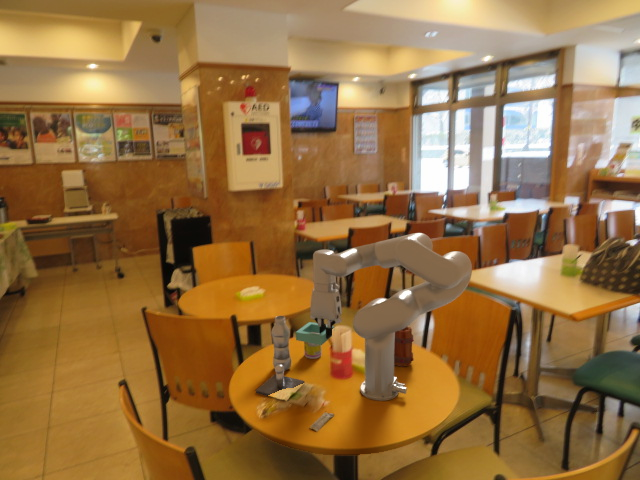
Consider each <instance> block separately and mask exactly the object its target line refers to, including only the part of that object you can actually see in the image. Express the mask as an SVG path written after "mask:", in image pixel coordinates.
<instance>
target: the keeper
mask: <svg viewBox="0 0 640 480" xmlns="http://www.w3.org/2000/svg"><path fill="white" fill-rule="evenodd" d="M274 371H275V373H274V374H273V375H272V376H271V377H270V378H268V379H267V380H266V381H265V382H264V383H263V384H262V385H260V386H259V387H258V388H257V389H256V390H255V394H257V395H261V396H265V397H268V395H270V394H272V393H275V392H277V391H279V390H282V389H286V388H294V387H296V386H298V385H300V384H303V383H305V380H302V379H299V378H294V377H289V376H285V374H284V373H285V370H284V366H283V365H281V364H279V365H277V366H276V367H274Z"/></svg>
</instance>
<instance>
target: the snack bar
mask: <svg viewBox="0 0 640 480" xmlns="http://www.w3.org/2000/svg"><path fill="white" fill-rule="evenodd" d="M334 416H335V413H331V412H330V413H329V412H327V410H326V411H325V412H323V414H322V415H321V416H320V417H318V419H317V420H315V422H314V423H312V424H310V426H309V427H308V428H309V429H311V430H312V431H314V432H317V433H318V432H319V431H320V430H321V429H322V427H323V426H325V425H326V424H327V422H328V421H329V420H331V418H332V417H334Z"/></svg>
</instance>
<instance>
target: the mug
mask: <svg viewBox="0 0 640 480" xmlns="http://www.w3.org/2000/svg"><path fill="white" fill-rule="evenodd" d="M412 330H413V329H412V328H411V326H408V327H406V328H404V329H402V330H399V331H397V332H395V348H394V366H397V367H408V366H411V364H412V363H413V361H414V360H415V359H414V352H413V342H414V335H413V334H412Z"/></svg>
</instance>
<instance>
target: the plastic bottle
mask: <svg viewBox="0 0 640 480" xmlns="http://www.w3.org/2000/svg"><path fill="white" fill-rule="evenodd" d="M286 322H287V321H286V317H285V316H284V315H277V316H275V317H274V326H273V327H272V328H271V337H272V342H273V359H272V364H273V367H274V368H275V367H276V366H277V365H279V364H281V365H283V366H284V371H287V370H289V369H290V368H291V366H292V357H291V354H290V348H289V347H290V346H289V345H290V333H291V332H290V328H289V326H288V325H287V324H286Z"/></svg>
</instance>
